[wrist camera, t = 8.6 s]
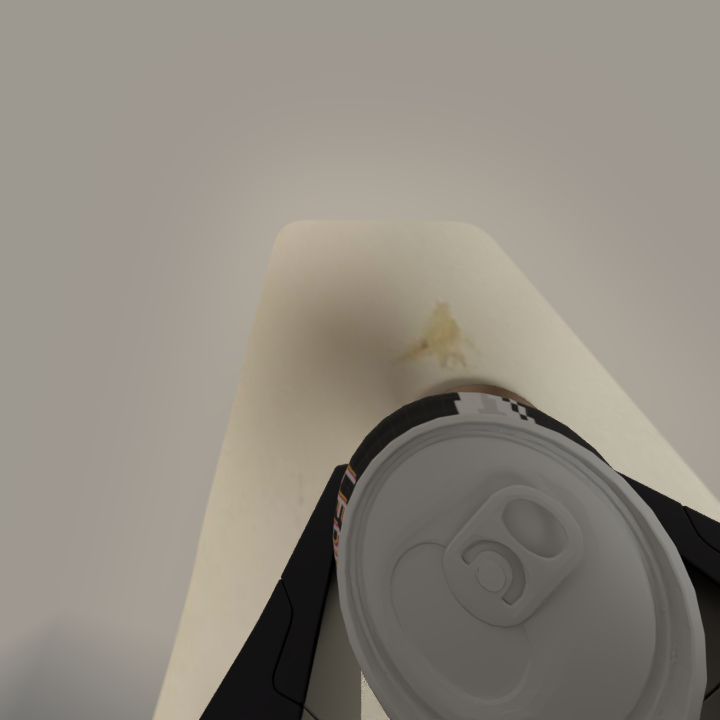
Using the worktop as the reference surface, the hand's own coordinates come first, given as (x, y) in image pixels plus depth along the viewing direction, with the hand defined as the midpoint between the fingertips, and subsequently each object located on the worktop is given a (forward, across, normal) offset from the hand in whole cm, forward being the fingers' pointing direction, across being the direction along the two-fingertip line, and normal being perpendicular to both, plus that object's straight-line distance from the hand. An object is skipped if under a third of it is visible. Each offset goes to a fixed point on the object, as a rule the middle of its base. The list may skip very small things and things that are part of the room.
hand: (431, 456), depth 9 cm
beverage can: (+4, -1, +6) cm, 8 cm away
